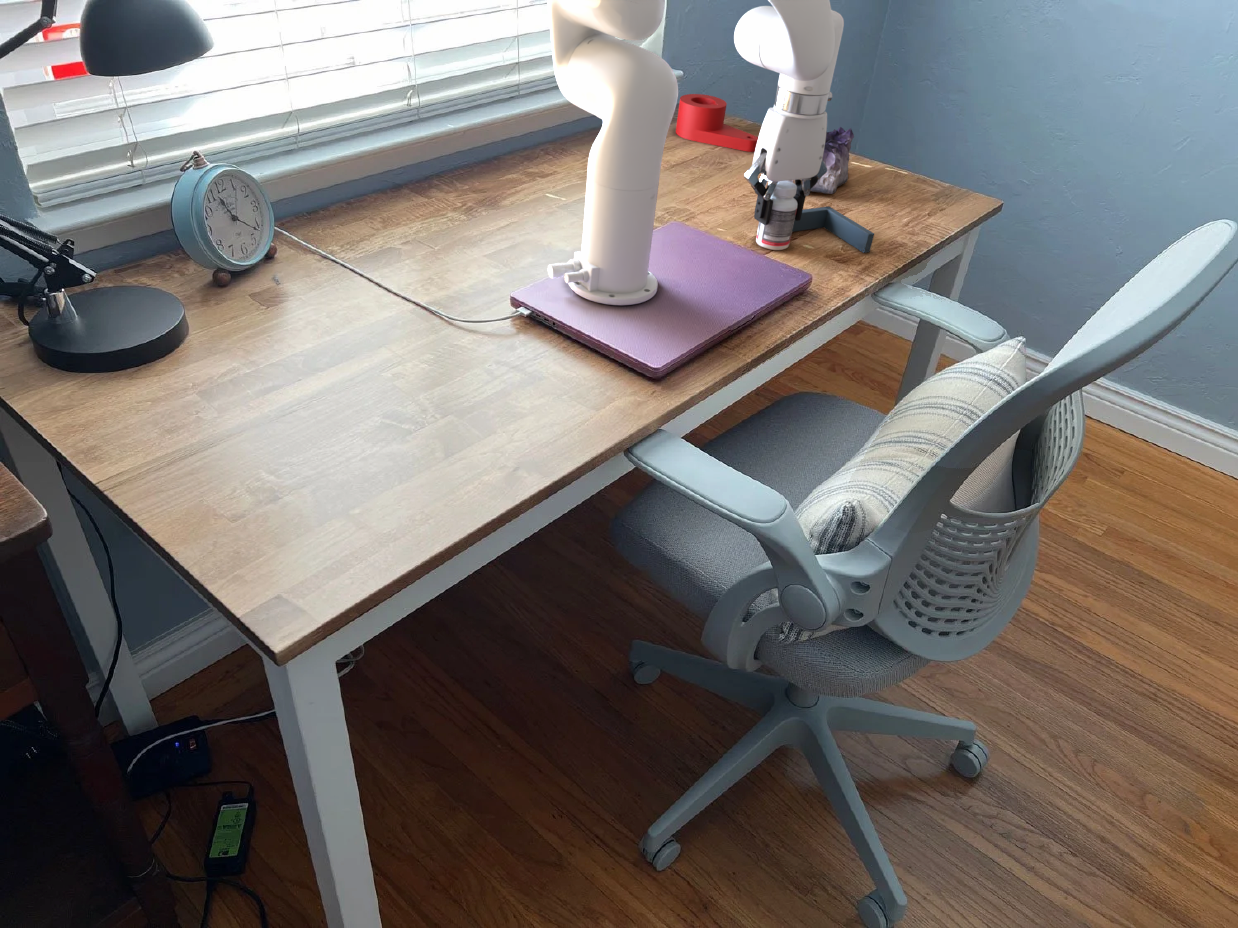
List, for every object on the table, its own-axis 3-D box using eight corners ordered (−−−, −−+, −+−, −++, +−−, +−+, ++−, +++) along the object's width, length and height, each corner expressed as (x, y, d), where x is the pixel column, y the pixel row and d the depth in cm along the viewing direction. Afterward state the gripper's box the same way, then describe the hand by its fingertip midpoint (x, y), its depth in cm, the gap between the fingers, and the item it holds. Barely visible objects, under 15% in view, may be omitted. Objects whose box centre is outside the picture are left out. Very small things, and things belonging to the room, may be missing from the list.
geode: (798, 159, 187) (816, 109, 182) (853, 181, 185) (873, 131, 179) (767, 184, 172) (786, 130, 166) (826, 208, 169) (847, 154, 163)
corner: (804, 262, 147) (808, 243, 145) (761, 232, 155) (764, 214, 153) (869, 252, 153) (874, 233, 151) (824, 224, 161) (829, 206, 159)
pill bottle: (795, 248, 151) (808, 188, 146) (770, 253, 149) (782, 192, 143) (773, 235, 155) (785, 176, 149) (748, 240, 152) (759, 180, 146)
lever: (667, 133, 193) (671, 100, 189) (689, 124, 199) (694, 91, 195) (746, 156, 186) (752, 122, 182) (766, 146, 192) (772, 112, 188)
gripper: (830, 91, 145) (805, 205, 156) (738, 96, 137) (718, 216, 148) (862, 106, 140) (834, 223, 150) (768, 112, 132) (745, 235, 143)
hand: (777, 218), depth 149 cm, fingers closed on pill bottle, 5 cm apart
